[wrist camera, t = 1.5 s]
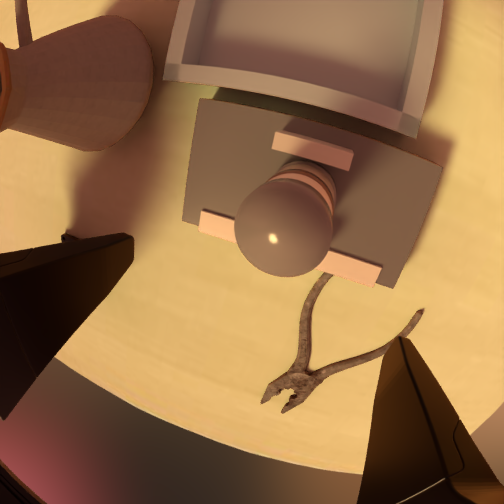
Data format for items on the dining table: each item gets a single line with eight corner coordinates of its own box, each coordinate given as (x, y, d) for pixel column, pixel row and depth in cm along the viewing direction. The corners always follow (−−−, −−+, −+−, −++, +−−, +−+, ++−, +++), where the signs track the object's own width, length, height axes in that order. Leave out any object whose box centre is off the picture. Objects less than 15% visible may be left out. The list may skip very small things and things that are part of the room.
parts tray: (184, 82, 20) (162, 79, 17) (216, -50, 14) (200, -66, 11) (406, 135, 17) (416, 139, 15) (434, -12, 11) (445, -28, 9)
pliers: (434, 298, 21) (335, 429, 30) (432, 292, 21) (336, 423, 31) (323, 257, 22) (257, 405, 32) (324, 252, 23) (259, 399, 32)
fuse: (264, 213, 20) (227, 259, 14) (278, 151, 18) (244, 172, 12) (325, 232, 20) (314, 288, 14) (345, 171, 18) (345, 202, 12)
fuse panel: (193, 215, 24) (167, 234, 21) (211, 99, 20) (184, 97, 16) (388, 278, 22) (394, 308, 18) (434, 162, 17) (453, 173, 14)
